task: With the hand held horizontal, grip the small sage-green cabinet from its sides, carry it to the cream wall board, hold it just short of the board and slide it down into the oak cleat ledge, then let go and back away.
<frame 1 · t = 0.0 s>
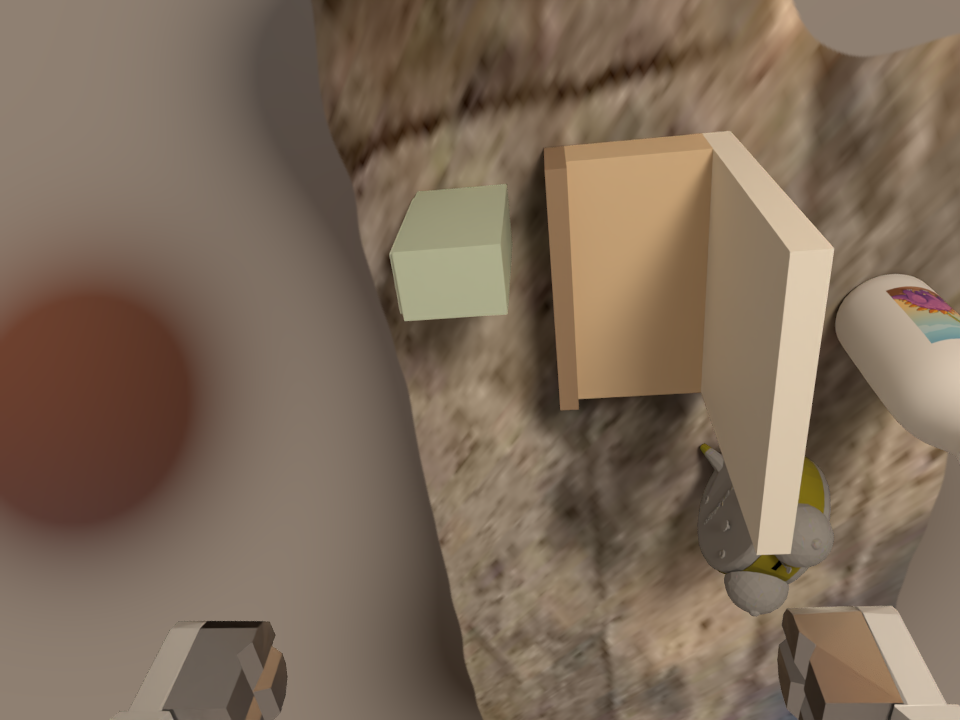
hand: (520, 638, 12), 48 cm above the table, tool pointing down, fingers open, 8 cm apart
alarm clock: (731, 454, 69), on the table
cabinet: (465, 218, 59), on the table
milk bottle: (881, 312, 61), on the table
wall board: (696, 260, 59), on the table
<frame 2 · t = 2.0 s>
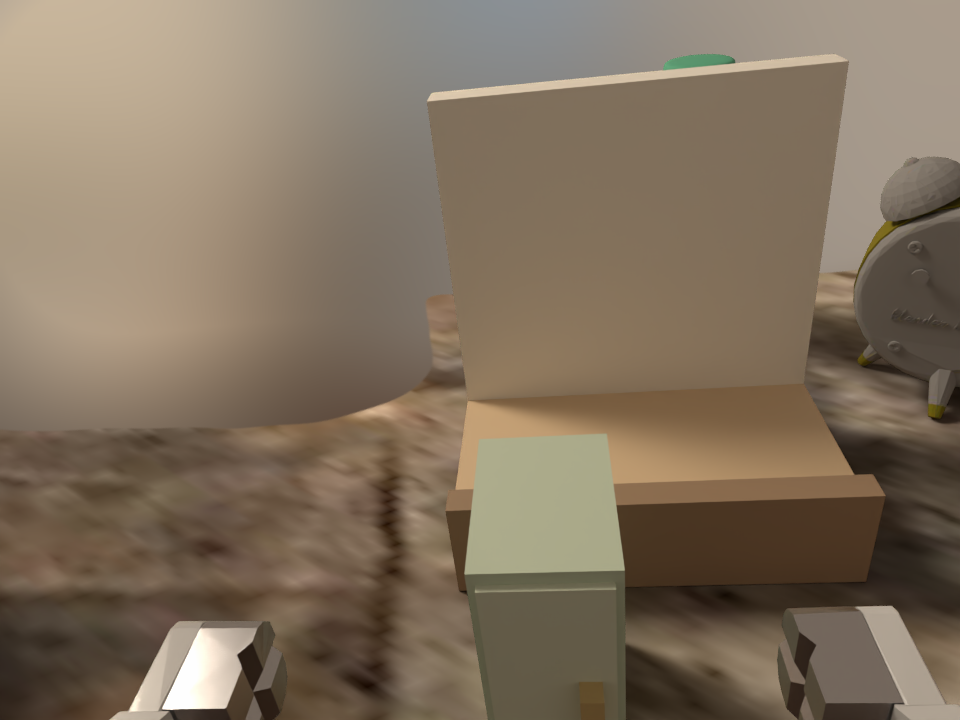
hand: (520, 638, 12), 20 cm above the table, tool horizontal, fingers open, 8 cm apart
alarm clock: (937, 396, 48), on the table
cabinet: (559, 706, 32), on the table
milk bottle: (687, 327, 59), on the table
wall board: (631, 444, 47), on the table
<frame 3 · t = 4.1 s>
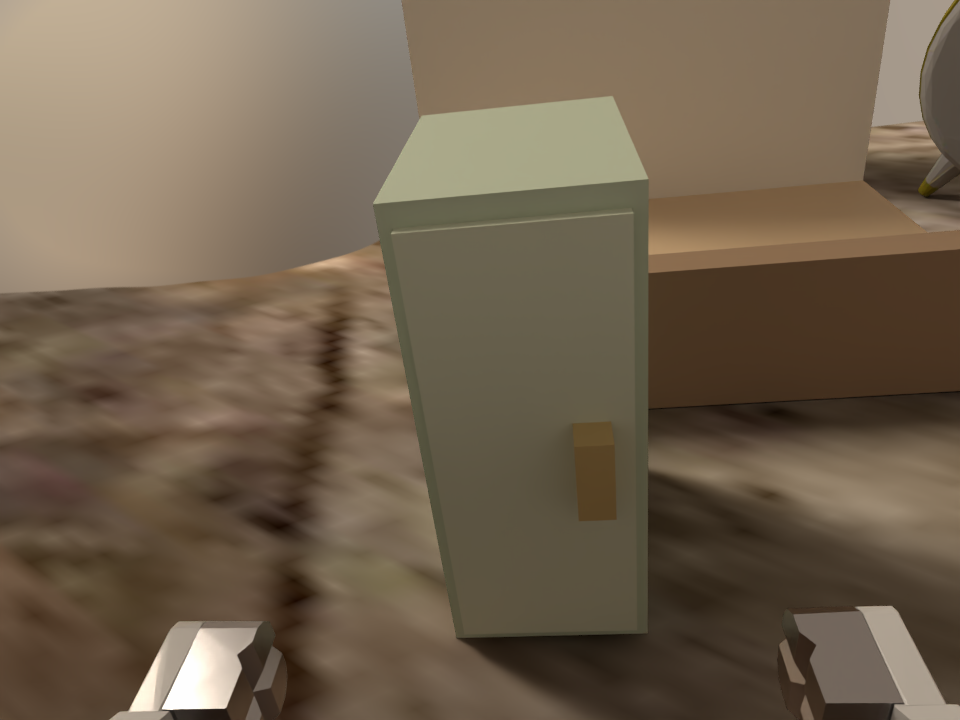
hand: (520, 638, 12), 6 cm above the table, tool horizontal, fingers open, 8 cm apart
cabinet: (548, 539, 23), on the table
wall board: (642, 276, 37), on the table
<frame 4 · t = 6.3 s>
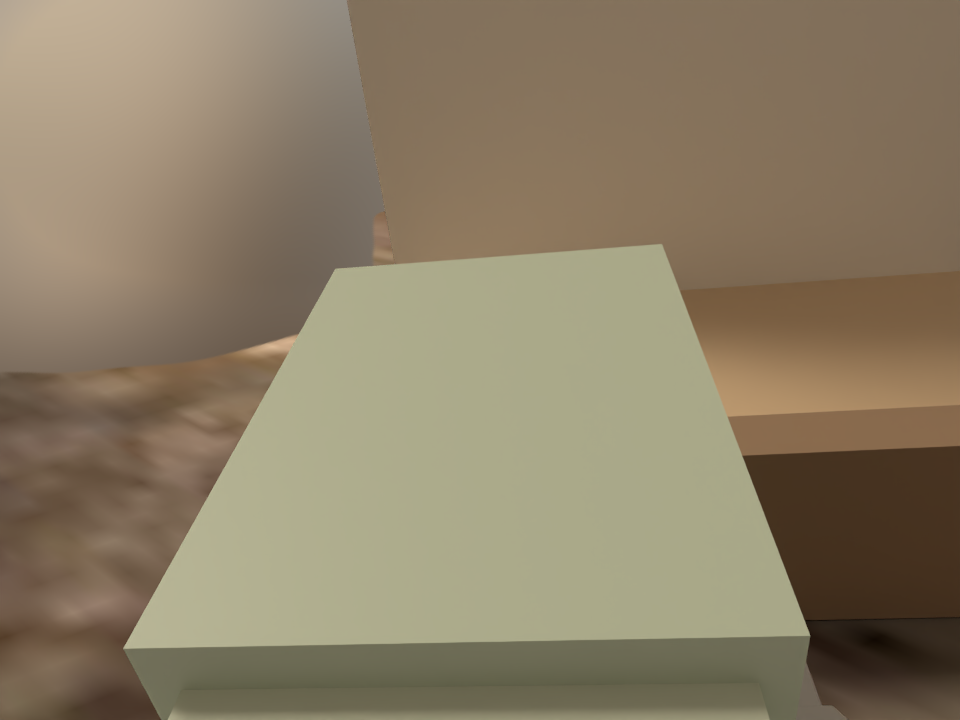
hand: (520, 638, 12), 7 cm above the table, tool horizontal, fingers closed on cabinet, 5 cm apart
wall board: (668, 382, 29), on the table
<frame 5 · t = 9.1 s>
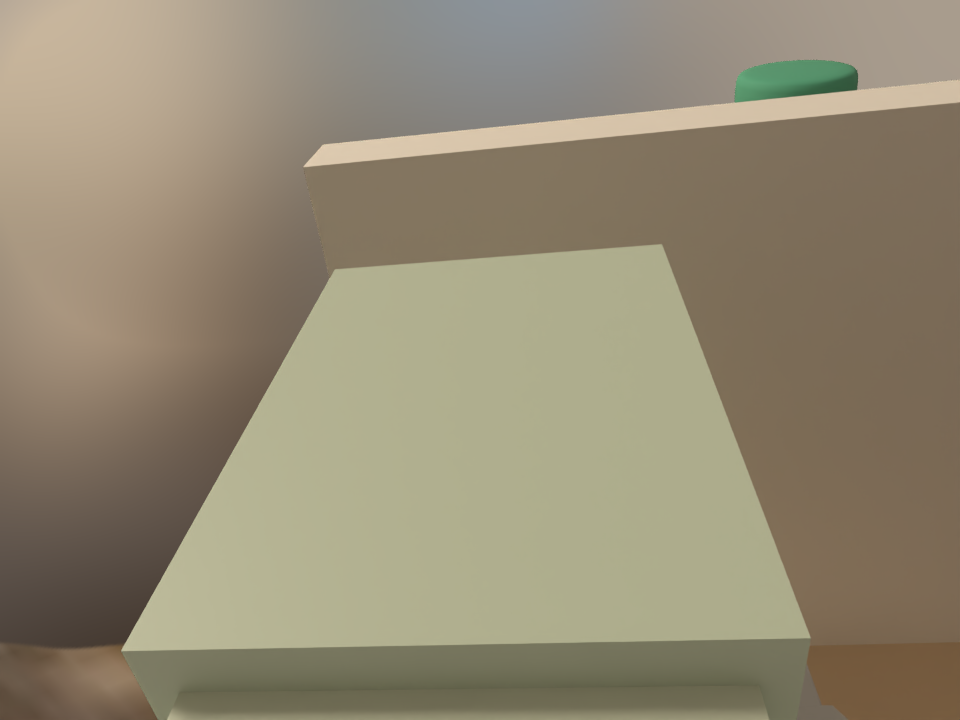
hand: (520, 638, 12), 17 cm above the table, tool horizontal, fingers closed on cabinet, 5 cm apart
milk bottle: (758, 461, 40), on the table
wall board: (697, 718, 28), on the table
when the fingers open (11 cm above the table, at t = 11.8 s): cabinet stays where it is, resting on wall board.
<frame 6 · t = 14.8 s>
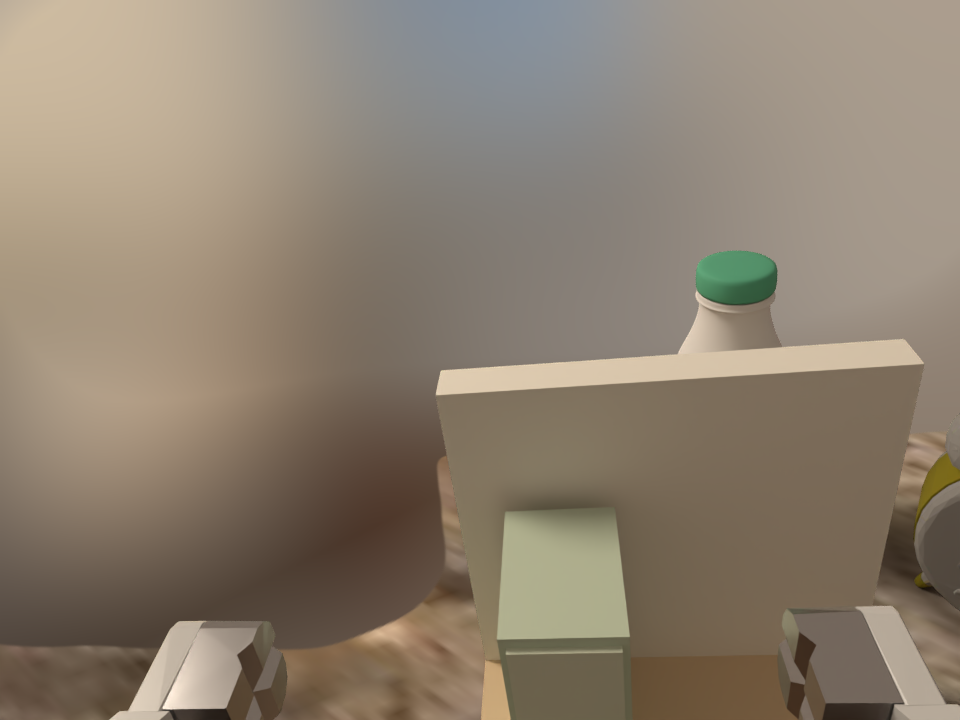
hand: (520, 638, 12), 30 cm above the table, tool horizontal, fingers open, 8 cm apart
milk bottle: (722, 515, 55), on the table
wall board: (667, 701, 43), on the table
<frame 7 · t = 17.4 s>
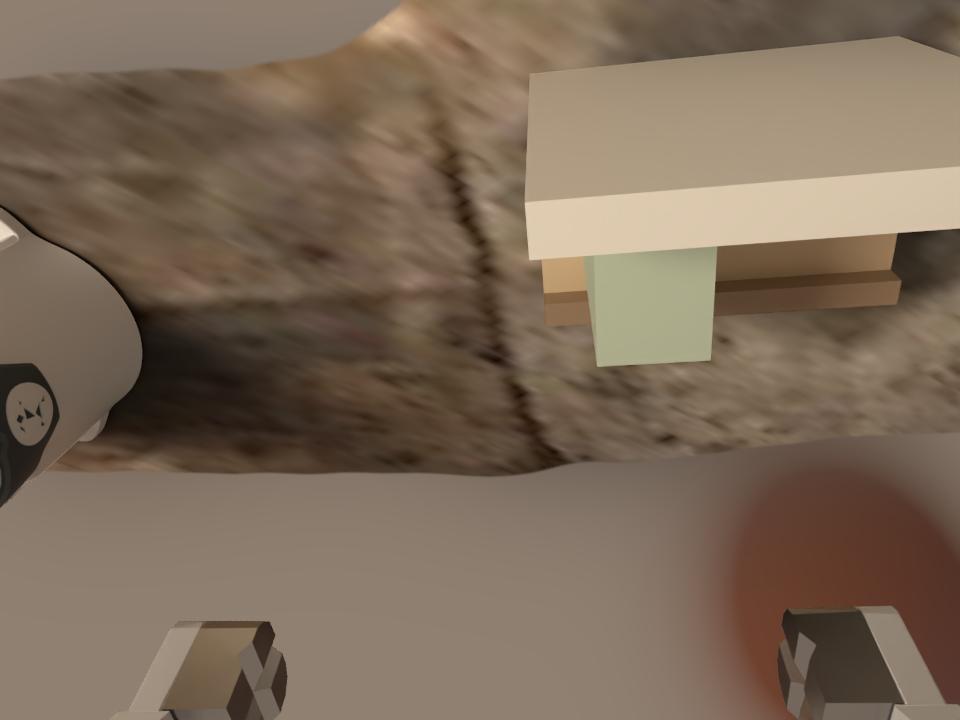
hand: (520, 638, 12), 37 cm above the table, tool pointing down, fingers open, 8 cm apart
cabinet: (625, 199, 42), point 4 cm above the table, touching wall board
wall board: (707, 92, 42), on the table
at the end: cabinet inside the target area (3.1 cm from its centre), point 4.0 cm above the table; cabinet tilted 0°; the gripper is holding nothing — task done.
